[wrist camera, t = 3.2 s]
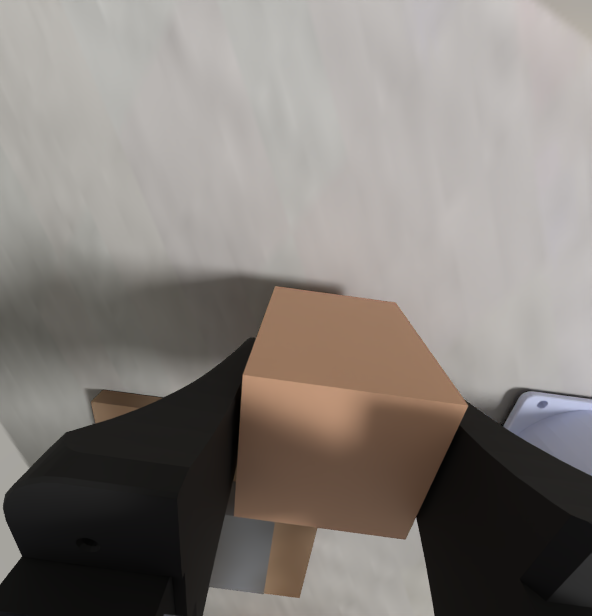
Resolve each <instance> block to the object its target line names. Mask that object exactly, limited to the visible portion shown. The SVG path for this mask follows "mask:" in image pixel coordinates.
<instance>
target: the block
mask: <svg viewBox="0 0 592 616" xmlns="http://www.w3.org/2000/svg"><path fill="white" fill-rule="evenodd" d="M467 407H468V404H467V403H466V402H465V400H464V399H463V397H462V396H461V394H460V393H459V392H458V390H457V389H456V387H455V386H454V385H453V383H452V382H451V380H450V379H449V377H448V376H447V375H446V373H445V372H444V370H443V369H442V368H441V366H440V365H439V363H438V362H437V360H436V359H435V358H434V356H433V355H432V353H431V352H430V351H429V349H428V348H427V346H426V345H425V343H424V342H423V341H422V339H421V338H420V336H419V335H418V334H417V332H416V331H415V329H414V328H413V326H412V325H411V324H410V322H409V321H408V319H407V318H406V317H405V315H404V314H403V312H402V311H401V309H400V308H399V307H398V305H397V304H396V303H395V302H387V301H380V300H373V299H366V298H358V297H351V296H344V295H336V294H329V293H322V292H314V291H307V290H300V289H292V288H285V287H278V286H275V288H274V291H273V293H272V296H271V299H270V302H269V304H268V307H267V310H266V313H265V315H264V318H263V321H262V324H261V326H260V329H259V332H258V335H257V337H256V340H255V343H254V345H253V348H252V351H251V354H250V356H249V359H248V362H247V365H246V367H245V370H244V373H243V379H242V395H241V411H240V426H239V442H238V458H237V474H236V490H235V506H234V516H235V517H242V518H249V519H257V520H264V521H272V522H279V523H286V524H294V525H301V526H309V527H316V528H323V529H331V530H338V531H346V532H353V533H360V534H368V535H375V536H383V537H390V538H397V539H406V537H407V535H408V533H409V531H410V529H411V527H412V525H413V522H414V520H415V518H416V516H417V514H418V512H419V510H420V508H421V505H422V503H423V501H424V499H425V497H426V495H427V493H428V491H429V488H430V486H431V484H432V482H433V480H434V478H435V476H436V473H437V471H438V469H439V467H440V465H441V463H442V461H443V459H444V456H445V454H446V452H447V450H448V448H449V446H450V444H451V442H452V439H453V437H454V435H455V433H456V431H457V429H458V427H459V425H460V422H461V420H462V418H463V416H464V414H465V412H466V410H467Z"/></svg>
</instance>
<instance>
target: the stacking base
mask: <svg viewBox="0 0 592 616" xmlns="http://www.w3.org/2000/svg"><path fill="white" fill-rule="evenodd" d="M160 399H162V398H161V397H153V396H146V395H138V394H131V393H123V392H115V391H108V390H102V391H101V392H100V393H99V394H98V395H97V396H96V397H95V398H94V399H93V400H92V401H91V405H92V410H93V414H94V419H95V424H96V423H99V422H102V421H105V420H109V419H112V418H115V417H117V416H120V415H123V414H126V413H128V412H131V411H134V410H136V409H139V408H141V407H144V406H146V405H149V404H151V403H153V402H155V401H158V400H160ZM236 474H237V468H236V471H235V475H234V479H233V483H232V488H231V492H230V496H229V500H228V504H227V509H226V513H225V517H224V522H223V526H222V530H221V535H220V539H219V543H218V548H217V552H216V557H215V561H214V566H213V570H212V574H211V579H210V584H209V587H213V588H221V589H228V590H236V591H244V592H252V593H259V594H264V593H265V594H273V595H280V596H288V597H296V598H300V594H301V590H302V586H303V582H304V578H305V574H306V570H307V566H308V562H309V558H310V555H311V551H312V547H313V543H314V539H315V535H316V531H317V528H316V527H309V526H301V525H294V524H286V523H279V522H272V521H264V520H257V519H249V518H242V517H235V516H234V506H235V490H236Z"/></svg>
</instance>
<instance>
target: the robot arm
mask: <svg viewBox="0 0 592 616" xmlns="http://www.w3.org/2000/svg"><path fill="white" fill-rule="evenodd" d="M255 340H256V338H249V339H248V340H247V341H246V342H244V343H243V344H242V345H241V346H240V347H239V348H238V349H237V350H236V351H235V352H233V353H232V354H231V355H230V356H229V357H227V358H226V359H225V360H224V361H223V362H221V363H220V364H219V365H217V366H216V367H215V368H213V369H212V370H210V371H209V372H208V373H206V374H205V375H204V376H202V377H201V378H199V379H197V380H196V381H194V382H193V383H191V384H189V385H187V386H186V387H184V388H182V389H180V390H178V391H176V392H174V393H172V394H170V395H168V396H166V397H164V398H162V399H160V400H158V401H155V402H153V403H151V404H149V405H146V406H144V407H141V408H139V409H136V410H134V411H131V412H128V413H126V414H123V415H120V416H117V417H115V418H112V419H109V420H105V421H102V422H99V423H96V424H93V425H89V426H86V427H83V428H80V429H76V430H73V431H69V432H66V433H65V434H64V435H63V436H62V437H61V438H60V439H59V440H58V441H57V442H56V443H54V444H53V445H52V446H51V447H50V448H49V449H48V450H47V451H46V452H45V453H44V454H43V455H42V456H41V457H40V458H39V459H38V460H37V461H36V462H35V463H34V464H33V465H32V466H31V468H30V469H29V470H28V471H27V472H26V473H25V474H24V475H23V476H22V477H21V478H20V479H19V480H18V481H17V482H16V483H15V484H14V485H13V486H12V487H11V488H10V489H9V491H8V492H7V493H6V494H5V498H4V503H3V510H4V514H5V518H6V522H7V524H8V526H9V528H10V530H11V532H12V535H13V537H14V539H15V541H16V543H17V546H18V548H19V550H20V553H21V554H22V557H21V559H20V560H19V561H18V563H17V564H16V565H15V566H14V568H13V569H12V570H11V572H10V573H9V574H8V575H7V577H6V578H5V579H4V580H3V582H2V583H1V584H0V616H203V611H204V607H205V602H206V597H207V593H208V588H209V584H210V579H211V574H212V570H213V566H214V561H215V557H216V552H217V548H218V543H219V539H220V535H221V530H222V526H223V522H224V517H225V513H226V509H227V504H228V500H229V496H230V492H231V488H232V483H233V479H234V475H235V471H236V468H237V458H238V442H239V426H240V411H241V395H242V379H243V373H244V370H245V367H246V365H247V362H248V359H249V356H250V354H251V351H252V348H253V345H254V343H255ZM465 402H466V403H467V404H468V407H467V410H466V412H465V414H464V416H463V418H462V420H461V422H460V425H459V427H458V429H457V431H456V433H455V435H454V437H453V439H452V442H451V444H450V446H449V448H448V450H447V452H446V454H445V456H444V459H443V461H442V463H441V465H440V467H439V469H438V471H437V473H436V476H435V478H434V480H433V482H432V484H431V486H430V488H429V491H428V493H427V495H426V497H425V499H424V501H423V503H422V505H421V508H420V510H419V512H418V514H417V516H416V518H417V523H418V527H419V532H420V537H421V542H422V547H423V552H424V557H425V562H426V568H427V574H428V579H429V585H430V591H431V596H432V602H433V608H434V615H435V616H592V399H586V398H579V397H571V396H564V395H556V394H549V393H541V392H534V391H528V392H525V393H523V394H522V395H521V396H520V397H519V399H518V400H517V402H516V404H515V406H514V408H513V409H512V411H511V413H510V415H509V417H508V418H507V420H506V422H505V424H504V426H501V425H500V424H498V423H497V422H495V421H494V420H492V419H491V418H489V417H488V416H486V415H485V414H483V413H482V412H481V411H479V410H478V409H477V408H475V407H474V406H472V405H471V404H470V403H468V402H467V401H466V400H465Z"/></svg>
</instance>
